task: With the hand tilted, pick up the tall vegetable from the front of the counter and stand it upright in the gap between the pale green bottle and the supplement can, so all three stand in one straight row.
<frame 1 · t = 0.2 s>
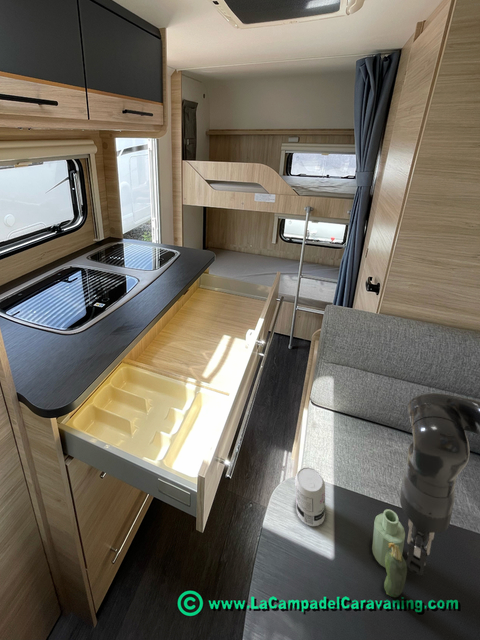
hand: (418, 547, 64), 30 cm above the table, tool pointing down, fingers open, 8 cm apart
vegetable: (391, 596, 79), on the table
green bottle: (386, 555, 86), on the table
supplement can: (310, 512, 98), on the table
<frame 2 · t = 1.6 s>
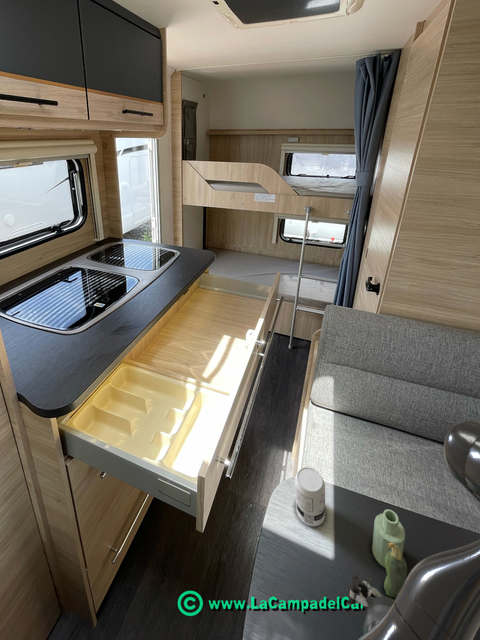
hand: (393, 599, 64), 21 cm above the table, tool tilted 45°, fingers open, 8 cm apart
nothing on the table moved.
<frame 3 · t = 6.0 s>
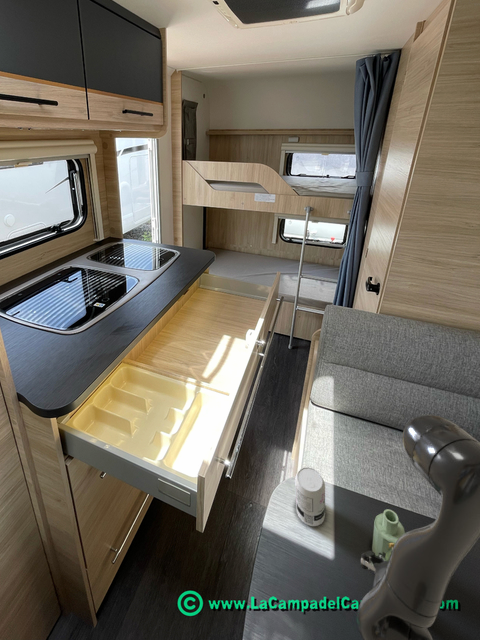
hand: (395, 563, 77), 10 cm above the table, tool tilted 45°, fingers closed on vegetable, 4 cm apart
vegetable: (391, 596, 79), on the table, touching gripper
everything else where it was.
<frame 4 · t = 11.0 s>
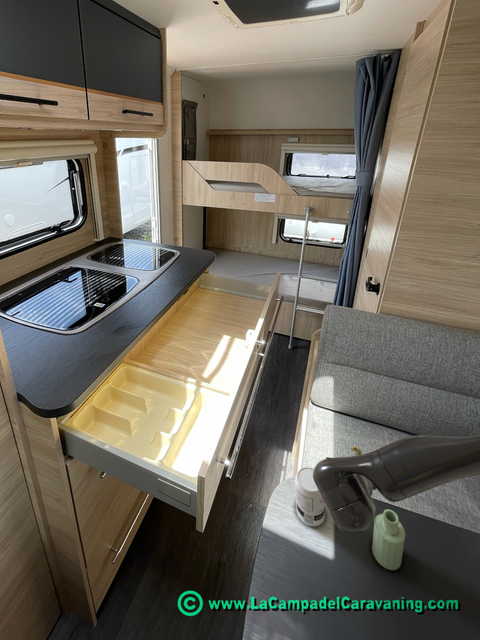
hand: (359, 470, 81), 28 cm above the table, tool tilted 45°, fingers closed on vegetable, 4 cm apart
vegetable: (356, 504, 83), point 17 cm above the table, touching gripper
everything else where it was.
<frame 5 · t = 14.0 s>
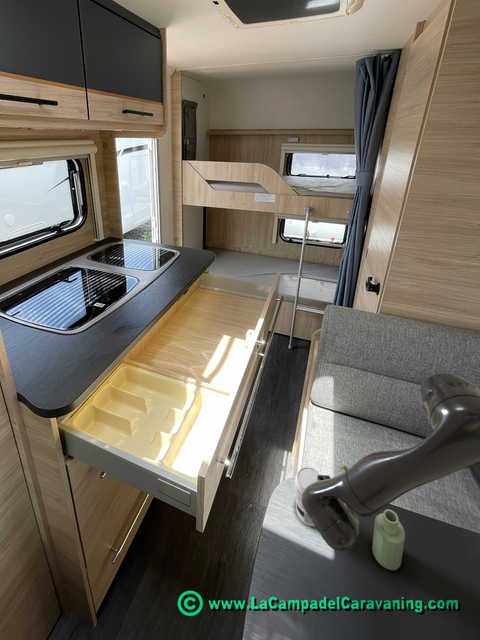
hand: (348, 487, 88), 17 cm above the table, tool tilted 45°, fingers closed on vegetable, 4 cm apart
vegetable: (346, 518, 90), point 7 cm above the table, touching gripper
everything else where it was.
when the fingers open (10 cm above the table, at t = 16.3 s): vegetable stays where it is, on the table.
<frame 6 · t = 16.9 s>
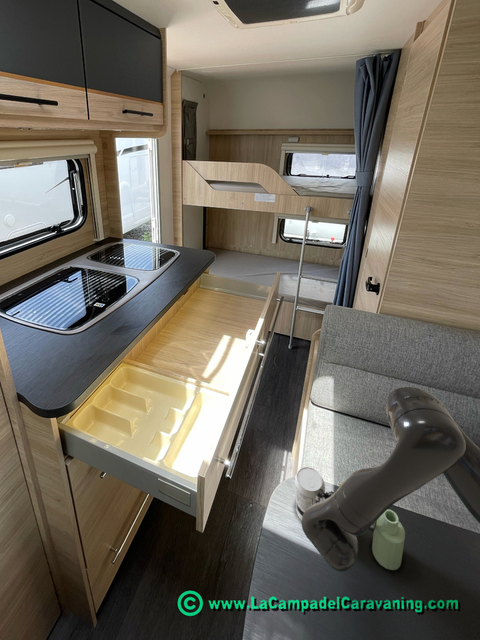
hand: (348, 503, 90), 11 cm above the table, tool tilted 45°, fingers open, 8 cm apart
vegetable: (345, 533, 92), on the table
supplement can: (310, 512, 98), on the table, touching gripper
everything else where it was.
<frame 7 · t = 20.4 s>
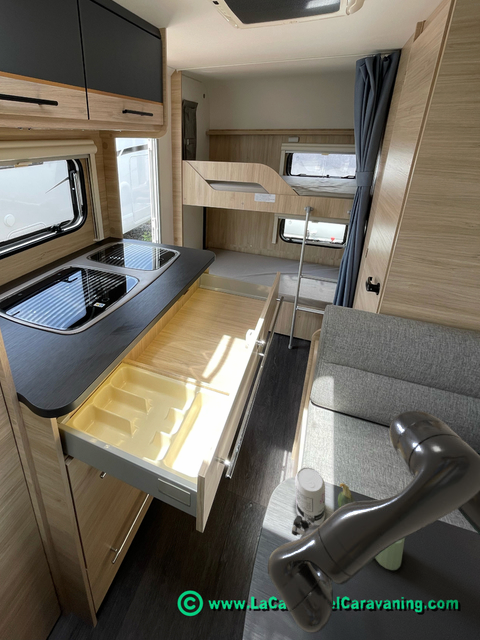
hand: (330, 532, 79), 17 cm above the table, tool tilted 45°, fingers open, 8 cm apart
supplement can: (310, 512, 98), on the table
everything else where it was.
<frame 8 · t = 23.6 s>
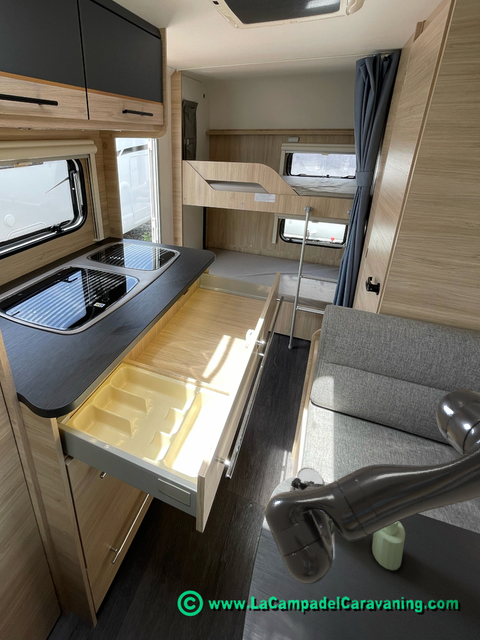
hand: (330, 495, 74), 31 cm above the table, tool tilted 45°, fingers open, 8 cm apart
nothing on the table moved.
at the end: vegetable 0.1 cm from the target spot on the table beside the supplement can, on the table; vegetable tilted 0°; the gripper is holding nothing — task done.
